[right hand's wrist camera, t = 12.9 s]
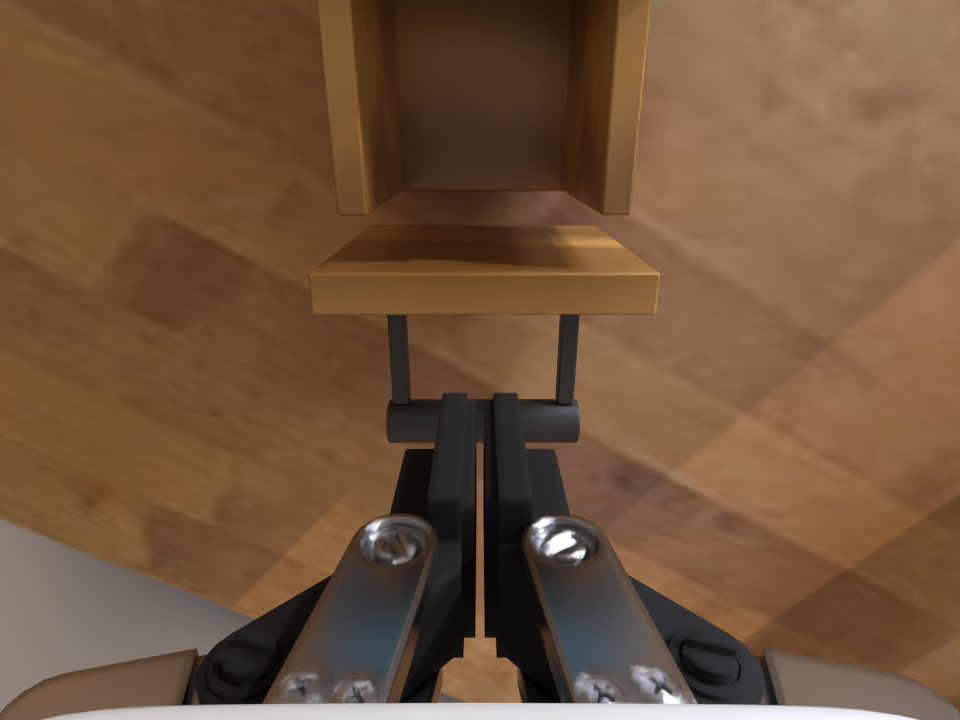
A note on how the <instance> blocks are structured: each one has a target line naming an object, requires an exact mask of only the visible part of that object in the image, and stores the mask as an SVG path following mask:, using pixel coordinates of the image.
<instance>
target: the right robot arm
mask: <svg viewBox="0 0 960 720" xmlns="http://www.w3.org/2000/svg"><path fill="white" fill-rule="evenodd" d="M475 612H476V399H467V393H443V395H442V401H441V408H440V415H439V421H438V428H437V435H436V442H435V448H434V449H406V451H405V454H404V458H403V462H402V466H401V471H400V475H399V479H398V483H397V487H396V491H395V495H394V500H393V504H392V508H391V512H390V514H389V515H384V516H380V517H378V518H376V519H373V520H371V521H369V522H368V523H366V524H365V525H363V526H362V527H361V528H360V529H359V530H358V531H357V532H356V534H355V535H354V536H353V538H352V540H351V542H350V544H349V545H348V547H347V549H346V551H345V553H344V555H343V556H342V558H341V560H340V562H339V564H338V566H337V567H336V569H335V571H334V573H333V575H331V576H329V577H327V578H326V579H324V580H322V581H321V582H319V583H317V584H315V585H314V586H312V587H310V588H309V589H307V590H305V591H303V592H302V593H300V594H298V595H297V596H295V597H293V598H292V599H290V600H288V601H286V602H285V603H283V604H281V605H280V606H278V607H276V608H274V609H273V610H271V611H269V612H268V613H266V614H264V615H263V616H261V617H259V618H257V619H256V620H254V621H252V622H251V623H249V624H247V625H245V626H244V627H242V628H240V629H239V630H237V631H235V632H233V633H232V634H230V635H229V636H227V637H226V638H225V639H223V640H222V641H221V642H219V643H218V644H216V645H215V647H214V648H213V649H212V650H211V651H210V652H209V653H208V654H207V655H204V656H199V655H198V651H197V648H196V649H190V650H185V651H180V652H174V653H169V654H164V655H159V656H153V657H148V658H143V659H138V660H132V661H127V662H122V663H117V664H112V665H106V666H101V667H96V668H90V669H85V670H80V671H75V672H69V673H64V674H61V675H58V676H55V677H52V678H49V679H45V680H43V681H42V682H40V683H38V684H36V685H34V686H32V687H31V688H29V689H27V690H25V691H24V692H23V693H21V694H20V695H19V696H18V697H17V698H15V699H14V700H13V701H12V702H10V703H9V704H8V705H7V706H6V707H5V708H4V709H3V710H2V712H1V713H0V720H960V713H959V712H958V710H957V709H956V708H955V707H954V706H953V705H952V704H951V703H950V702H948V701H947V700H946V699H945V698H944V697H942V696H941V695H940V694H939V693H938V692H936V691H935V690H933V689H931V688H929V687H928V686H926V685H924V684H922V683H920V682H918V681H917V680H915V679H911V678H908V677H905V676H902V675H899V674H896V673H891V672H886V671H880V670H875V669H870V668H864V667H859V666H854V665H849V664H843V663H838V662H833V661H828V660H822V659H817V658H812V657H807V656H801V655H796V654H791V653H786V652H780V651H775V650H770V649H764V648H763V651H762V655H761V656H756V655H753V654H752V653H751V652H750V651H749V650H748V649H747V648H746V646H745V645H744V644H742V643H741V642H740V641H738V640H737V639H735V638H734V637H733V636H731V635H730V634H728V633H727V632H725V631H723V630H721V629H720V628H718V627H716V626H715V625H713V624H711V623H709V622H708V621H706V620H704V619H703V618H701V617H699V616H697V615H696V614H694V613H692V612H691V611H689V610H687V609H686V608H684V607H682V606H680V605H679V604H677V603H675V602H674V601H672V600H670V599H668V598H667V597H665V596H663V595H662V594H660V593H658V592H656V591H655V590H653V589H651V588H650V587H648V586H646V585H645V584H643V583H641V582H639V581H638V580H636V579H634V578H633V577H631V576H629V575H627V573H626V571H625V569H624V567H623V566H622V564H621V562H620V560H619V558H618V556H617V555H616V553H615V551H614V549H613V547H612V545H611V544H610V542H609V540H608V538H607V536H606V535H605V534H604V532H603V531H602V530H601V529H600V528H599V527H598V526H597V525H595V524H594V523H592V522H591V521H589V520H587V519H584V518H582V517H580V516H576V515H571V514H570V512H569V508H568V504H567V500H566V495H565V491H564V487H563V483H562V479H561V475H560V471H559V466H558V462H557V458H556V454H555V451H554V449H526V448H525V442H524V435H523V428H522V421H521V415H520V408H519V401H518V395H517V393H493V399H484V613H485V638H496V652H497V658H508V659H509V660H510V661H511V662H512V663H514V664H515V665H516V666H517V679H518V687H519V692H520V696H521V700H522V703H438V700H439V696H440V692H441V687H442V679H443V666H444V665H445V664H446V663H448V662H449V661H450V660H451V659H452V658H463V652H464V638H475Z"/></svg>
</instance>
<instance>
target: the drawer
mask: <svg viewBox="0 0 960 720" xmlns="http://www.w3.org/2000/svg"><path fill="white" fill-rule="evenodd" d="M317 1H318V12H319V22H320V33H321V43H322V54H323V65H324V75H325V86H326V96H327V107H328V118H329V128H330V139H331V149H332V160H333V170H334V181H335V192H336V202H337V213H338V215H340V216H365V215H367V214H368V213H370V212H372V211H373V210H375V209H376V208H378V207H379V206H381V205H382V204H384V203H385V202H387V201H388V200H390V199H391V198H393V197H395V196H396V195H398V194H399V193H401V192H402V191H564V192H566V193H567V194H569V195H571V196H572V197H574V198H576V199H577V200H579V201H581V202H582V203H584V204H586V205H587V206H589V207H590V208H592V209H594V210H595V211H597V212H599V213H600V214H602V215H629V214H630V212H631V203H632V193H633V183H634V173H635V162H636V152H637V142H638V132H639V121H640V111H641V101H642V91H643V80H644V70H645V60H646V49H647V39H648V29H649V19H650V8H651V0H317ZM308 279H309V287H310V296H311V304H312V312H313V314H315V315H387V319H388V334H389V349H390V364H391V379H392V394H393V399H391V400H390V401H389V404H388V409H387V436H388V440H389V442H391V443H435V442H436V435H437V428H438V421H439V415H440V408H441V401H442V399H410V398H411V390H410V371H409V352H408V333H407V315H560V324H559V342H558V360H557V379H556V399H518V401H519V408H520V415H521V421H522V428H523V435H524V442H525V443H576V442H577V441H578V439H579V433H580V413H579V406H578V402H577V400H575V399H574V387H575V373H576V358H577V343H578V329H579V314H655V312H656V305H657V296H658V288H659V280H660V274H659V273H658V272H657V271H656V270H654V269H653V268H651V267H650V266H649V265H647V264H646V263H645V262H643V261H642V260H641V259H639V258H638V257H637V256H635V255H634V254H633V253H631V252H630V251H629V250H627V249H626V248H624V247H623V246H622V245H620V244H619V243H618V242H616V241H615V240H614V239H612V238H611V237H610V236H608V235H607V234H606V233H604V232H603V231H601V230H600V229H599V228H597V227H596V226H370V227H368V228H367V229H366V230H365V231H363V232H362V233H361V234H359V235H358V236H357V237H355V238H354V239H353V240H352V241H350V242H349V243H348V244H346V245H345V246H344V247H343V248H341V249H340V250H339V251H337V252H336V253H335V254H334V255H332V256H331V257H330V258H328V259H327V260H326V261H325V262H323V263H322V264H321V265H319V266H318V267H317V268H316V269H314V270H313V271H312V272H310V273H309V275H308ZM476 443H484V399H476Z"/></svg>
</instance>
